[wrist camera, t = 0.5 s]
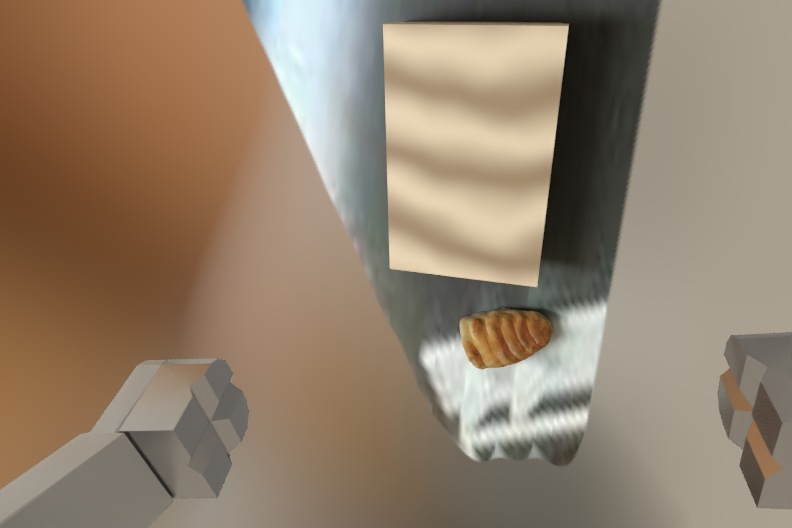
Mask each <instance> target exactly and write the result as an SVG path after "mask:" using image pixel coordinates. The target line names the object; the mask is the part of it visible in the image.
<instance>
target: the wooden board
mask: <svg viewBox="0 0 792 528" xmlns="http://www.w3.org/2000/svg"><path fill="white" fill-rule="evenodd" d="M568 28H569V24H563V22H462V21H405V22H387V23H385V24H383V39H384V75H385V111H386V147H387V183H388V219H389V255H390V269H396V270H404V271H412V272H420V273H428V274H436V275H444V276H452V277H460V278H468V279H476V280H484V281H492V282H500V283H508V284H516V285H524V286H532V287H537V284H538V276H539V267H540V259H541V251H542V243H543V234H544V226H545V218H546V210H547V201H548V193H549V185H550V177H551V168H552V160H553V152H554V144H555V136H556V127H557V119H558V111H559V103H560V94H561V86H562V78H563V70H564V61H565V53H566V45H567V37H568Z"/></svg>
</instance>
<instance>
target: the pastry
mask: <svg viewBox="0 0 792 528" xmlns="http://www.w3.org/2000/svg"><path fill="white" fill-rule="evenodd" d="M460 333H461V336H462V343H463V347H464V350H465V353H466V355H467V357H468V360H469V361H470V362H471V363H472V364H473V365H474V366H475V367H477V368H479V369H485V368H497V367H504V366H507V365H511V364H514V363H518V362H519V361H522V360H525V359H526V358H527V357H529V356H531V355H533V354H534V353H535V352H536V351H538V350H540V349H541V348H542V347H544V346H546V345H547V344H548V342H549V340H550V337H551V334H552V333H553V327H552V324H551V322H550V321H549V319H547V318H546V317H545V316H544V315H542V314H541V313H539V312H537V311H532V310H529V311H526V310H514V309H510V308H501V309H499V310H492V311H484V312H480V313H476V314H472V315H470V316H467V317H464V318H462V319H461V321H460Z"/></svg>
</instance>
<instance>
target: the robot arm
mask: <svg viewBox="0 0 792 528" xmlns="http://www.w3.org/2000/svg"><path fill="white" fill-rule="evenodd" d="M724 356H725V358H726V360H727V362H728V365H729V367H730V368H729V369H728V370H727V371H726V372H725V373H723V374H722V375H721V376H720V380H719V387H718V402H719V411H720V415H721V419H722V422H723V426H724V428H725V431H726V433H727V436H728V439H730V440H731V441H732V442H733V443H735V444H736V445H737V446H739V447H740V448H741V449H743V452H742V456H741V461H740V465H739V466H740V468H741V470H742V473H743V475H744V478H745V480H746V482H747V485H748V487H749V489H750V492H751V494H752V496H753V499H754V501H755V504H756V506H757V508H772V509H774V508H775V509H792V332H786V333H769V334H749V335H731V336H730V338H729V339H728V341H727V343H726V348H725V353H724ZM232 374H233V372H232V371H231V369H230V367H229V366H228V364H227V362H226V361H225V360H222V359H173V360H172V359H171V360H146V361H144V362H143V363H141V364H139V365H137V367H136V368H135V369H134V371H133V372H132V374H131V375H130V377H129V378H128V379H127V381H126V382H125V384H124V385H123V386H122V388H121V389H120V391H119V392H118V394H117V395H116V396H115V398H114V399H113V401H112V402H111V403H110V405H109V406H108V408H107V409H106V411H105V412H104V413H103V415H102V416H101V418H100V419H99V420H98V422H97V423H96V425H95V426H94V428H93V429H92V430H91V432H90V433H82V434H80V435H79V436H77V437H76V438H74V439H73V440H72V441H70V442H69V443H67V444H66V445H64V446H63V447H61V448H60V449H59V450H57V451H56V452H54V453H53V454H51V455H50V456H48V457H47V458H46V459H44V460H43V461H41V462H40V463H39V464H37V465H35V466H34V467H33V468H31V469H30V470H28V471H27V472H25V473H24V474H23V475H21V476H20V477H18V478H17V479H15V480H14V481H12V482H11V483H10V484H8V485H7V486H5V487H4V488H2V489H1V490H0V528H148V527H149V526H150V525H151V524H152V523H153V522H154V521H155V520H156V519H157V518H158V517H159V516H160V515H161V514H162V513H163V512H164V511H165V510H166V509H167V508H168V507H169V506H170V505H171V504H172V503H173V501H174V500H173V499H186V498H217V497H218V496H219V493H220V491H221V489H222V486H223V484H224V482H225V479H226V477H227V475H228V473H229V470H230V468H231V466H232V462H231V458H230V455H229V453H230V452H231V451H232V450H233V449H234V448H235V447H236V446H238V445H239V444H240V443H241V442H242V440H243V437H244V435H245V432H246V430H247V424H248V415H249V410H248V405H247V400H246V398H245V396H244V394H243V392H242V390H240V389H239V388H237V387H236V386H234V385H233V384H232V383H230V380H231V377H232Z"/></svg>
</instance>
